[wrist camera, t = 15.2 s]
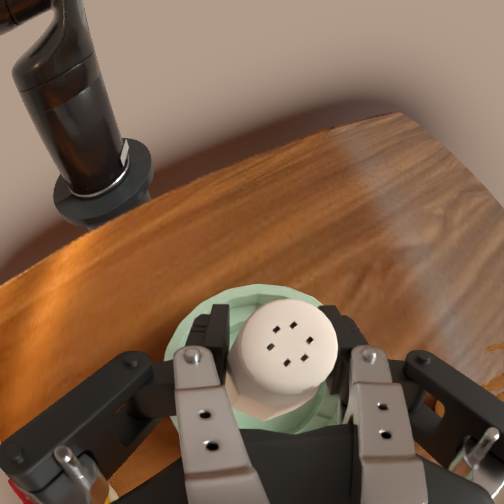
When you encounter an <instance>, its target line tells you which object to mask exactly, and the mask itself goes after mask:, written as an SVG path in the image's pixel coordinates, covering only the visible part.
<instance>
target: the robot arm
mask: <svg viewBox="0 0 504 504" xmlns="http://www.w3.org/2000/svg"><path fill="white" fill-rule="evenodd" d="M51 9H52V10H53V11H54V18H53V20H52V22H51V24H50V25H49V27H48V28H47V29H46V31H45V32H44V33H43V35H42V36H41V37H40V38H39V39H38V40H37V41H36V42H35V44H33V45H32V46H31V47H30V48H29V49H28V50H27V51H26V52H25V53H24V54H23V55H22V56H21V57H20V58H19V59H18V60H17V62H16V63H15V65H14V66H13V68H12V76H13V80H14V82H15V85H16V87H17V89H18V92H19V94H20V96H21V98H22V101H23V103H24V105H25V107H26V109H27V111H28V113H29V115H30V117H31V119H32V121H33V123H34V125H35V127H36V129H37V131H38V133H39V135H40V137H41V139H42V141H43V143H44V145H45V147H46V148H47V150H48V152H49V154H50V156H51V157H52V159H53V161H54V163H55V164H56V166H57V168H58V170H59V171H60V173H61V175H62V177H63V179H64V180H65V182H66V184H67V185H68V188H69V190H70V192H71V193H72V195H73V196H74V197H76V198H77V199H80V200H93V199H97V198H100V197H102V196H105V195H106V194H108V193H110V192H112V191H113V190H114V189H116V188H117V187H118V186H119V185H120V184H121V183H122V182H123V181H124V179H125V178H126V177H127V175H128V173H129V171H130V167H131V161H130V158H129V155H128V153H127V152H128V149H129V146H128V143H127V140H126V141H125V144H124V143H123V141H122V138H121V134H120V132H119V129H118V126H117V123H116V120H115V117H114V114H113V110H112V107H111V104H110V101H109V98H108V94H107V92H106V88H105V85H104V81H103V78H102V74H101V71H100V68H99V64H98V60H97V57H96V53H95V49H94V45H93V42H92V38H91V34H90V31H89V27H88V23H87V19H86V14H85V10H84V4H83V0H0V35H2V34H5V33H7V32H9V31H11V30H13V29H15V28H17V27H18V26H20V25H22V24H24V23H25V22H27V21H29V20H31V19H33V18H35V17H37V16H39V15H41V14H43V13H45V12H47V11H49V10H51ZM318 309H319V310H320V311H322V312H323V313H324V314H325V316H326V317H327V318H328V319H329V321H330V322H331V324H332V326H333V328H334V330H335V332H336V337H337V342H338V351H337V359H336V362H335V364H334V367H333V369H332V371H331V372H330V374H329V375H328V376H327V378H326V379H325V382H326V385H327V388H328V391H329V394H330V395H335V394H339V395H340V399H339V402H338V410H337V425H331V426H325V427H321V428H318V429H314V430H311V431H307V432H303V433H300V434H287V433H281V432H274V431H268V430H263V429H239V428H238V425H237V422H236V419H235V416H234V413H233V410H232V407H231V404H230V400H229V397H228V394H227V391H226V388H225V382H226V373H227V368H226V361H225V360H226V358H227V356H228V353H229V346H230V306H229V304H213V305H212V309H211V313H210V314H200V315H199V316H198V317H196V318H195V319H194V321H193V324H192V327H191V329H190V332H189V335H188V338H187V340H186V343H185V346H184V347H182V348H180V349H178V350H177V351H175V353H174V354H173V359H171V360H168V361H162V362H152V363H151V359H150V357H149V356H148V355H147V354H146V353H144V352H141V351H127V352H124V353H121V354H119V355H118V356H116V357H115V358H113V359H112V360H111V361H110V362H108V363H107V364H106V365H104V366H103V367H102V368H100V369H99V370H98V371H96V372H95V373H94V374H92V375H91V376H90V377H88V378H87V379H86V380H84V381H83V382H82V383H80V384H79V385H78V386H76V387H75V388H74V389H72V390H71V391H70V392H68V393H67V394H66V395H65V396H63V397H62V398H61V399H59V400H58V401H57V402H55V403H54V404H53V405H51V406H50V407H49V408H47V409H46V410H45V411H43V412H42V413H41V414H39V415H38V416H37V417H35V418H34V419H33V420H31V421H30V422H29V423H27V424H26V425H25V426H23V427H22V428H21V429H19V430H18V431H17V432H15V433H14V434H13V435H11V436H10V437H9V438H7V439H6V440H5V441H4V442H2V443H1V445H0V468H1V469H2V470H3V471H4V472H5V473H6V475H8V477H9V478H10V479H11V480H12V481H13V483H14V485H15V486H16V487H17V488H18V489H19V490H20V491H21V492H22V493H23V494H24V495H25V496H26V497H27V498H28V499H29V500H30V501H31V502H32V503H33V504H104V503H105V501H106V498H107V497H108V495H109V484H108V482H107V480H108V479H109V478H110V477H111V476H112V475H113V474H114V473H115V472H116V471H117V470H118V468H119V467H120V466H121V465H122V464H123V463H124V462H125V461H126V460H127V459H128V457H129V456H130V455H131V454H132V453H133V452H134V451H135V450H136V448H137V447H138V446H139V445H140V444H141V443H142V442H143V441H144V439H145V438H146V437H147V436H148V435H149V434H150V433H151V431H152V430H153V429H154V428H155V427H156V426H157V425H158V423H159V422H160V421H161V419H162V417H169V416H177V422H178V431H179V439H180V447H181V454H182V456H181V457H180V458H179V459H177V460H176V461H175V462H173V463H172V464H170V465H169V466H167V467H166V468H165V469H163V470H162V471H160V472H159V473H157V474H156V475H154V476H153V477H151V478H150V479H148V480H147V481H145V482H144V483H142V484H141V485H139V486H138V487H136V488H134V489H133V490H131V491H130V492H128V493H126V494H125V495H123V496H121V497H120V498H118V499H116V500H115V501H113V502H111V503H109V504H494V501H493V499H494V498H495V497H496V495H497V494H498V493H499V492H500V490H501V489H502V488H503V487H504V402H503V401H501V400H500V399H499V398H497V397H496V396H494V395H493V394H491V393H490V392H488V391H487V390H485V389H484V388H483V387H481V386H480V385H478V384H477V383H475V382H474V381H472V380H471V379H469V378H468V377H466V376H465V375H463V374H462V373H460V372H459V371H457V370H456V369H454V368H453V367H452V366H450V365H449V364H447V363H446V362H444V361H443V360H441V359H440V358H438V357H437V356H435V355H434V354H432V353H430V352H427V351H424V350H414V351H411V352H409V353H408V354H407V357H406V360H405V361H399V360H390V359H387V355H386V353H385V352H384V351H383V350H382V349H380V348H378V347H376V346H372V345H369V344H368V342H367V341H366V339H365V338H364V336H363V334H362V333H360V330H359V328H357V325H356V324H355V322H354V321H353V320H352V319H351V318H349V317H348V316H346V315H341V314H340V313H339V311H338V309H337V308H336V306H335V305H321V306H318ZM427 392H428V393H430V394H431V395H432V396H433V397H435V398H436V399H437V400H438V401H440V402H441V403H442V404H443V406H444V410H445V411H444V415H443V417H442V418H441V417H440V416H439V415H438V414H436V413H435V412H434V411H433V410H432V409H430V408H429V407H428V406H427V405H425V404H424V403H423V401H424V399H425V397H426V394H427ZM124 403H125V405H124V406H123V407H122V408H121V409H120V410H119V411H118V412H117V413H116V414H115V412H116V411H117V410H118V409H119V408H120V407H121V406H122V405H123V404H124ZM114 414H115V415H114ZM413 439H414V440H415V441H416V442H417V443H418V444H419V445H420V446H421V447H422V448H423V449H424V450H426V451H427V452H428V453H429V454H430V455H431V456H432V457H433V458H434V459H435V460H436V461H437V462H438V463H440V464H441V465H442V466H443V467H444V468H443V467H441V466H439V465H437V464H435V463H433V462H431V461H429V460H427V459H425V458H424V457H422V456H420V455H418V454H416V453H415V448H414V442H413Z"/></svg>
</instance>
